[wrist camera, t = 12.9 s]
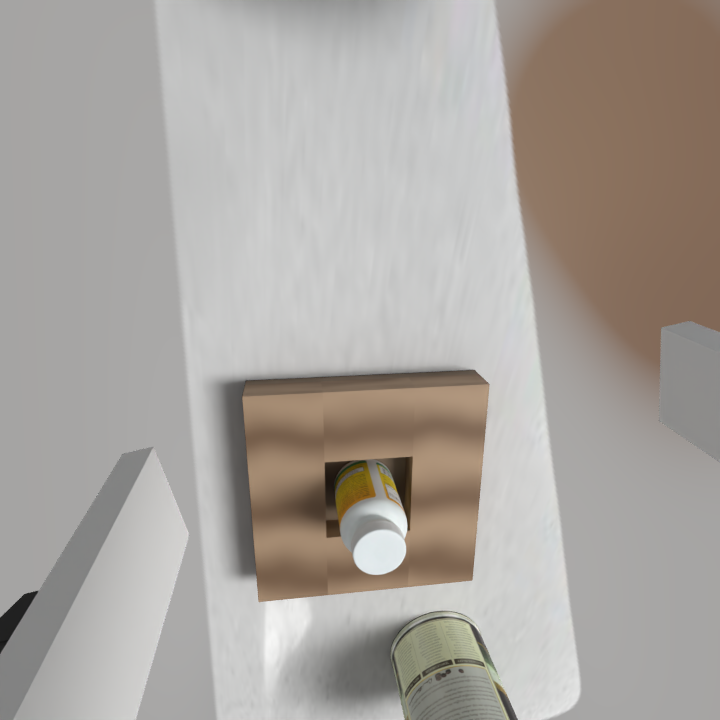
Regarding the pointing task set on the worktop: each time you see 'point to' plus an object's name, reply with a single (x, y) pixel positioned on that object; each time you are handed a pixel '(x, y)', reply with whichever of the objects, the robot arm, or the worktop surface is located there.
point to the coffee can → (447, 671)
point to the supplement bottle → (370, 516)
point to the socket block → (362, 442)
